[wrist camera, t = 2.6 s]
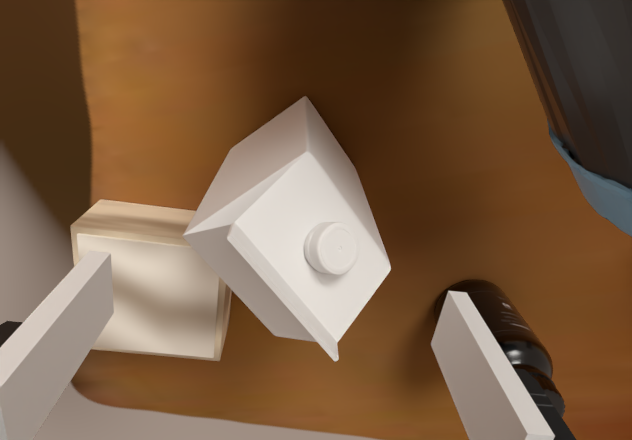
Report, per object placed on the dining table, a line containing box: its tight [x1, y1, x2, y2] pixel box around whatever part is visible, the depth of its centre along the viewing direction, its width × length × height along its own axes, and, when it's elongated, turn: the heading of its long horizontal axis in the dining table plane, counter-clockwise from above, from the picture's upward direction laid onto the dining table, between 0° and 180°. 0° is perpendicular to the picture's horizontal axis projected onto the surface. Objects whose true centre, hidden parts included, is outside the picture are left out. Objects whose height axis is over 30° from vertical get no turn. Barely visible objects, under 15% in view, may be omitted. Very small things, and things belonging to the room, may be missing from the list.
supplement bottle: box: [434, 280, 565, 418], centre depth 35 cm, size 7×7×12 cm
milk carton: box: [182, 96, 391, 362], centre depth 25 cm, size 7×7×19 cm
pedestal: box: [70, 199, 232, 361], centre depth 35 cm, size 11×11×5 cm
